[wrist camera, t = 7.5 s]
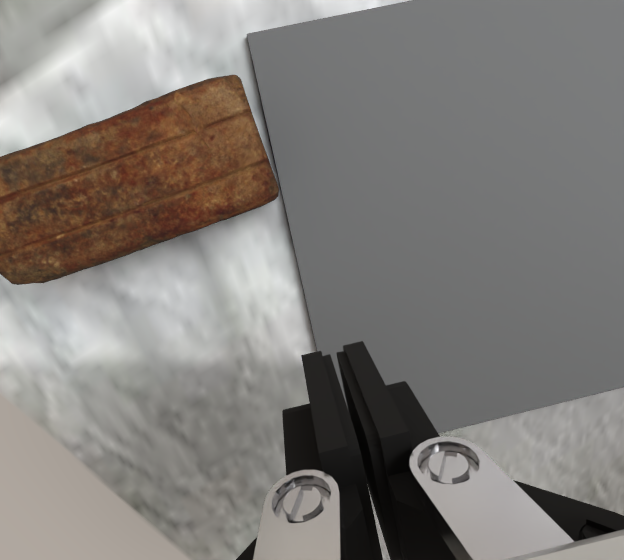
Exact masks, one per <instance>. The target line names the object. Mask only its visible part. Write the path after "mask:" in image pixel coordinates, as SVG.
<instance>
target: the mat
mask: <svg viewBox="0 0 624 560" xmlns="http://www.w3.org/2000/svg"><path fill="white" fill-rule="evenodd" d="M247 38H248V43H249V47H250V52H251V56H252V61H253V65H254V70H255V74H256V79H257V83H258V88H259V92H260V97H261V101H262V106H263V110H264V115H265V119H266V124H267V128H268V133H269V137H270V142H271V146H272V151H273V155H274V159H275V164H276V168H277V173H278V177H279V182H280V186H281V191H282V195H283V200H284V204H285V209H286V213H287V218H288V222H289V227H290V231H291V236H292V240H293V245H294V249H295V254H296V258H297V263H298V267H299V272H300V276H301V281H302V285H303V290H304V294H305V299H306V303H307V308H308V312H309V317H310V321H311V325H312V330H313V334H314V339H315V343H316V348H317V352H318V351H321V352H322V355H323V356H324V355H329V354H330V355H331V358H332V361H333V364H334V367H335V371H336V374H337V377H338V380H339V383H340V386H341V389H342V393H343V396H344V399H345V402H346V398H345V393H344V388H343V383H342V378H341V374H340V369H339V364H338V359H337V354H336V353H337V352H342V351H343V345H348V344H352V343H356V342H361V341H363V342H364V344H365V346H366V348H367V350H368V352H369V354H370V356H371V358H372V360H373V362H374V364H375V365H376V367H377V369H378V371H379V373H380V375H381V377H382V379H383V381H384V383H385V385H390V384H394V383H398V382H402V381H406V382H407V384H408V385H409V387H410V388H411V390H412V392H413V393H414V395H415V397H416V398H417V400H418V401H419V403H420V405H421V406H422V408H423V410H424V411H425V413H426V415H427V416H428V418H429V419H430V421H431V423H432V424H433V426H434V428H435V429H436V431H437V432H438V433H441V432H445V431H449V430H453V429H458V428H462V427H466V426H470V425H474V424H478V423H482V422H486V421H490V420H494V419H498V418H502V417H506V416H510V415H514V414H518V413H522V412H526V411H530V410H534V409H538V408H542V407H546V406H550V405H554V404H558V403H562V402H566V401H570V400H574V399H578V398H582V397H586V396H590V395H594V394H598V393H602V392H606V391H610V390H614V389H618V388H623V387H624V0H412V1H407V2H402V3H397V4H392V5H387V6H382V7H377V8H372V9H367V10H362V11H358V12H353V13H348V14H343V15H338V16H333V17H328V18H323V19H318V20H313V21H308V22H303V23H298V24H293V25H289V26H284V27H279V28H274V29H269V30H264V31H259V32H254V33H249V34H247ZM346 405H347V402H346ZM347 408H348V407H347Z"/></svg>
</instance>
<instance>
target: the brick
mask: <svg viewBox="0 0 624 560" xmlns="http://www.w3.org/2000/svg"><path fill="white" fill-rule="evenodd" d="M278 192H279V188H278V184H277V182H276V179H275V176H274V174H273V171H272V168H271V165H270V163H269V160H268V157H267V154H266V151H265V149H264V146H263V143H262V140H261V138H260V135H259V132H258V129H257V126H256V124H255V121H254V118H253V115H252V112H251V109H250V106H249V103H248V100H247V97H246V94H245V91H244V88H243V85H242V82H241V79H240V78H239V77H238V76H237V75H229V76H223V77H216V78H211V79H207V80H204V81H201V82H198V83H195V84H192V85H189V86H186V87H184V88H181V89H178V90H175V91H172V92H170V93H168V94H165V95H163V96H161V97H159V98H156V99H152V100H149V101H146V102H144V103H142V104H141V105H139V106H137V107H135V108H133V109H130V110H128V111H125V112H122V113H120V114H117V115H115V116H113V117H111V118H108V119H105V120H103V121H100V122H96V123H93V124H89V125H87V126H84V127H82V128H80V129H78V130H75V131H72V132H69V133H67V134H65V135H63V136H60V137H57V138H54V139H52V140H49V141H46V142H43V143H40V144H37V145H34V146H31V147H29V148H26V149H23V150H19V151H16V152H13V153H10V154H7V155H4V156H2V157H0V274H1V275H2V276H3V277H5V278H6V279H7V280H9V281H10V282H11V283H12V284H17V285H19V284H29V283H45V282H48V281H51V280H55V279H58V278H61V277H63V276H67V275H70V274H72V273H75V272H78V271H81V270H83V269H87V268H90V267H93V266H96V265H99V264H102V263H105V262H108V261H111V260H114V259H117V258H120V257H123V256H126V255H128V254H131V253H133V252H136V251H138V250H142V249H145V248H147V247H150V246H153V245H156V244H158V243H161V242H164V241H167V240H170V239H172V238H175V237H177V236H180V235H182V234H186V233H189V232H192V231H195V230H198V229H201V228H204V227H206V226H209V225H211V224H214V223H217V222H219V221H222V220H226V219H229V218H232V217H234V216H237V215H239V214H242V213H244V212H247V211H250V210H253V209H255V208H258V207H261V206H263V205H265V204H267V203H269V202H271V201H273V200H275V199H276V198H277V197H278Z"/></svg>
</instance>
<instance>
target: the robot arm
mask: <svg viewBox="0 0 624 560" xmlns="http://www.w3.org/2000/svg"><path fill="white" fill-rule="evenodd" d="M336 354H337V359H338V364H339V369H340V374H341V378H342V383H343V388H344V393H345V398H346V402H347V405H346V402H345V399H344V396H343V393H342V389H341V386H340V383H339V380H338V377H337V374H336V371H335V367H334V364H333V361H332V358H331V355H330V354H329V355H324V356H323V355H322V352H321V351H318V352H314V353H309V354H305V355H302V361H303V367H304V373H305V378H306V384H307V390H308V395H309V401H310V404H306V405H302V406H297V407H293V408H289V409H285V410H283V429H284V444H285V460H286V475H287V476H285V477H283V478H281V479H280V480H279V481H278V482H276V483H275V484H274V485H273V486H272V488H271V489H270V490H269V492H268V493H267V495H266V498H265V501H264V504H263V509H262V515H261V520H260V525H259V531H258V536H257V538H256V539H255V540H254V541H253V542H252V543H251V544H250V545H249V546H248V547H247V548H246V550H245V551H244V552H243V553H242V554H241V555H240V556H239V557H238V558H237V559H236V560H383V558H382V553H381V548H380V544H379V539H378V534H377V529H376V524H375V519H374V514H373V510H372V505H371V500H370V495H369V491H370V494H371V497H372V501H373V504H374V507H375V511H376V514H377V517H378V520H379V524H380V527H381V530H382V533H383V537H384V540H385V543H386V546H387V550H388V553H389V556H390V559H391V560H624V516H622V515H620V514H618V513H615V512H612V511H609V510H606V509H602V508H599V507H596V506H593V505H590V504H587V503H583V502H580V501H577V500H574V499H571V498H568V497H565V496H561V495H558V494H555V493H552V492H549V491H546V490H543V489H539V488H536V487H533V486H530V485H527V484H524V483H521V482H517V481H514V480H512V479H511V478H510V477H509V476H508V475H507V474H506V473H505V472H504V471H503V470H502V469H501V468H500V467H499V466H498V465H497V464H496V463H495V462H494V461H493V460H492V459H491V458H490V457H489V456H488V455H487V454H486V453H485V452H484V451H483V450H482V449H481V448H480V447H478V446H477V445H475V444H474V443H473V442H470V441H468V440H465V439H463V438H457V437H452V436H447V437H440V436H439V434H438V432H437V431H436V429H435V428H434V426H433V424H432V423H431V421H430V419H429V418H428V416H427V415H426V413H425V411H424V410H423V408H422V406H421V405H420V403H419V401H418V400H417V398H416V397H415V395H414V393H413V392H412V390H411V388H410V387H409V385H408V384H407V382H406V381H402V382H398V383H394V384H390V385H385V383H384V381H383V379H382V377H381V375H380V373H379V371H378V369H377V367H376V365H375V364H374V362H373V360H372V358H371V356H370V354H369V352H368V350H367V348H366V346H365V344H364V342H363V341H361V342H356V343H352V344H348V345H343V351H342V352H337V353H336ZM347 407H348V408H347ZM367 484H368V485H367ZM368 488H369V490H368Z"/></svg>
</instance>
